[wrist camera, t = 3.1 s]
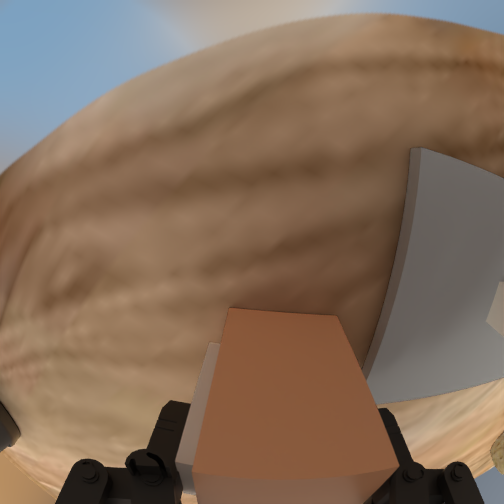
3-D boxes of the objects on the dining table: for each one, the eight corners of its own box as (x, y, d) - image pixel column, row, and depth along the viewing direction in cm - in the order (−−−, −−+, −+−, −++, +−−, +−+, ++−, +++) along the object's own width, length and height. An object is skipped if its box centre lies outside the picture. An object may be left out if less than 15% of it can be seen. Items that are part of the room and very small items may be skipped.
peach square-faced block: (225, 386, 14) (202, 522, 6) (229, 307, 13) (191, 471, 5) (315, 391, 14) (338, 523, 6) (336, 315, 13) (399, 466, 5)
